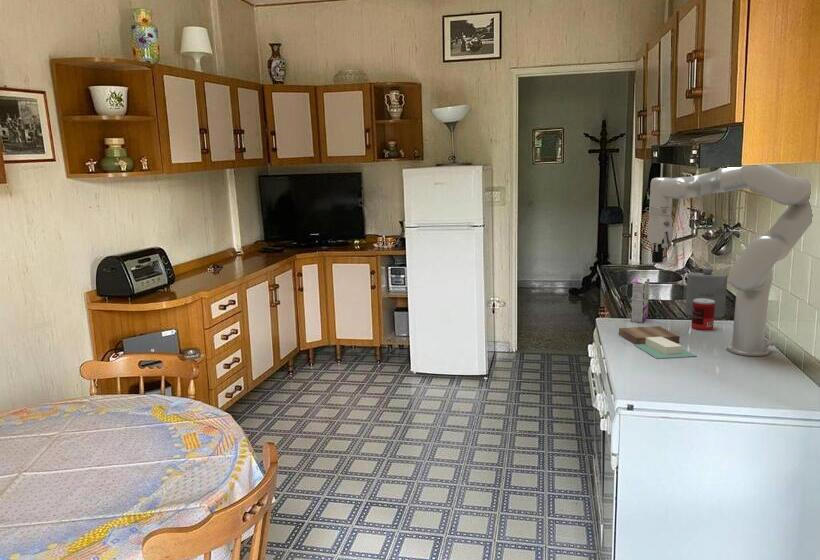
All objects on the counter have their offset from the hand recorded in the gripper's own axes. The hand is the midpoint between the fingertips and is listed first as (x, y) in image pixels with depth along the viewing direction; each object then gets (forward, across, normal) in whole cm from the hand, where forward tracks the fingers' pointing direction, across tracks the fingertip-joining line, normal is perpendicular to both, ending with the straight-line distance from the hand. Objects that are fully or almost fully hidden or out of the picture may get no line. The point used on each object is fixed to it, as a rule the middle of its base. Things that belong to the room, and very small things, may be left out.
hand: (657, 262), depth 232 cm
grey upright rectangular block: (+27, +22, -34) cm, 49 cm away
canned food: (+27, +4, -22) cm, 35 cm away
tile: (+27, -20, +7) cm, 34 cm away
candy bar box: (+27, +21, -5) cm, 35 cm away
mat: (+27, -21, +7) cm, 35 cm away
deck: (+27, -6, +5) cm, 28 cm away
